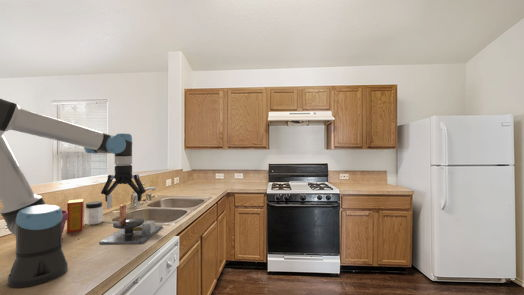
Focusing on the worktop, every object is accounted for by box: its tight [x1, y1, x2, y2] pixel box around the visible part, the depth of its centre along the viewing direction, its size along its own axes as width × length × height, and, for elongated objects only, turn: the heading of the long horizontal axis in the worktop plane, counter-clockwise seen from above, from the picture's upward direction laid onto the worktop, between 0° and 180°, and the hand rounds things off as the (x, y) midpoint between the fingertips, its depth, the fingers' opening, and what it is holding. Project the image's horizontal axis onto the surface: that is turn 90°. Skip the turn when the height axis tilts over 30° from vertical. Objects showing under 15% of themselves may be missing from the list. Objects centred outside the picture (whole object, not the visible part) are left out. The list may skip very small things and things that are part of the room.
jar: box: [84, 200, 104, 226], centre depth 144 cm, size 9×8×12 cm
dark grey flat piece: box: [98, 220, 163, 245], centre depth 123 cm, size 24×20×6 cm
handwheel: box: [112, 204, 145, 233], centre depth 123 cm, size 14×17×15 cm
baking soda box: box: [66, 198, 85, 233], centre depth 132 cm, size 10×6×16 cm
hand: (123, 208), depth 117 cm, fingers open, 13 cm apart
